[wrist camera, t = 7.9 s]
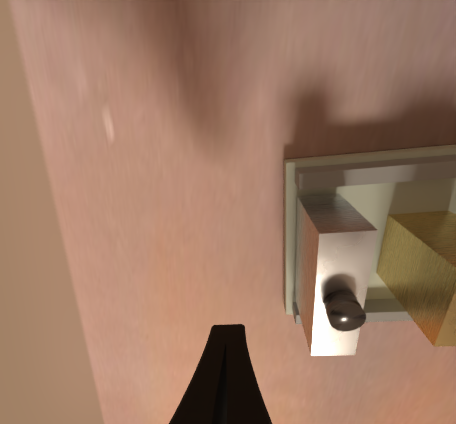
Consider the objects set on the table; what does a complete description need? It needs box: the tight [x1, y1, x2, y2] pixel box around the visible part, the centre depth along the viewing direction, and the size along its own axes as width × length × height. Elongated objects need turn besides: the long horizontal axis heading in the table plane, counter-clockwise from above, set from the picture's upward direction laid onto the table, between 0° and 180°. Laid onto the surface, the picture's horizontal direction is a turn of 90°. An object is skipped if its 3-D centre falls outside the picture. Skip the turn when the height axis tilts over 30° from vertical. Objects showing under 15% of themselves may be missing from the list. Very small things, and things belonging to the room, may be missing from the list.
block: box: [376, 211, 456, 346], centre depth 13 cm, size 4×4×6 cm
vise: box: [284, 144, 456, 324], centre depth 14 cm, size 14×12×5 cm
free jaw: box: [295, 193, 378, 356], centre depth 13 cm, size 2×8×5 cm, turn 6°
